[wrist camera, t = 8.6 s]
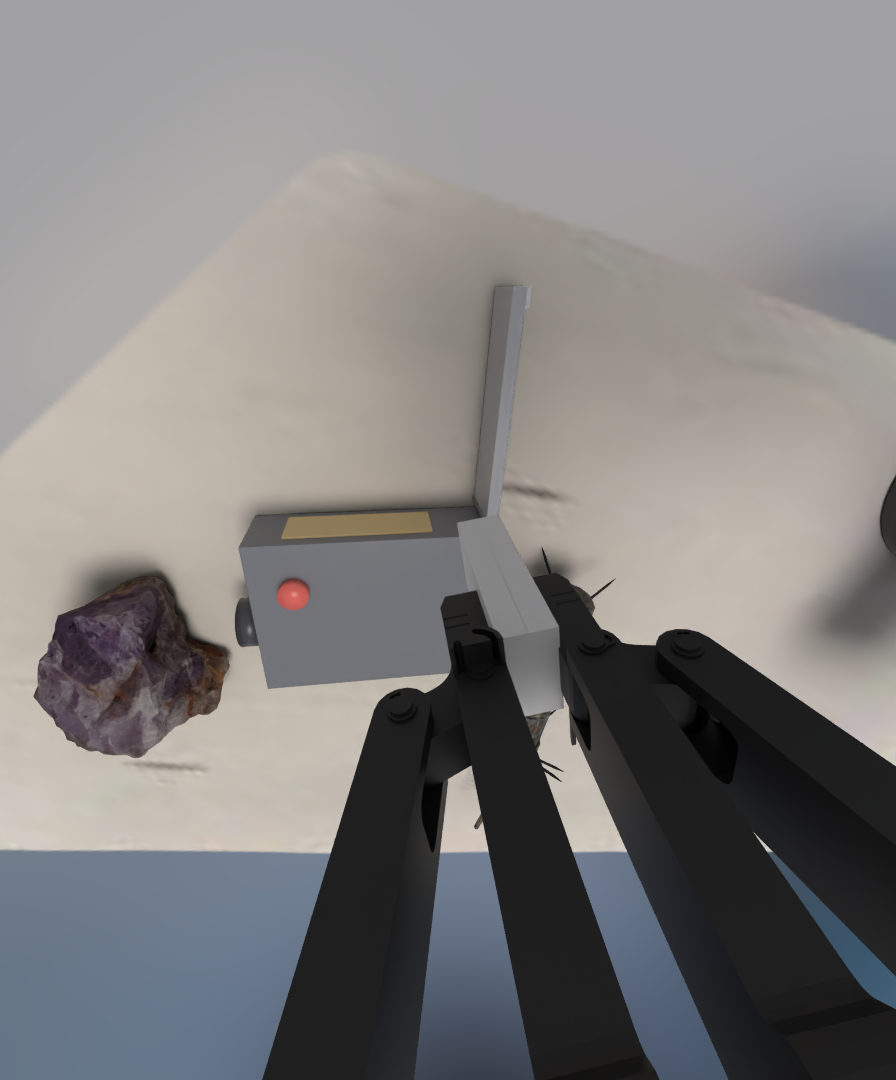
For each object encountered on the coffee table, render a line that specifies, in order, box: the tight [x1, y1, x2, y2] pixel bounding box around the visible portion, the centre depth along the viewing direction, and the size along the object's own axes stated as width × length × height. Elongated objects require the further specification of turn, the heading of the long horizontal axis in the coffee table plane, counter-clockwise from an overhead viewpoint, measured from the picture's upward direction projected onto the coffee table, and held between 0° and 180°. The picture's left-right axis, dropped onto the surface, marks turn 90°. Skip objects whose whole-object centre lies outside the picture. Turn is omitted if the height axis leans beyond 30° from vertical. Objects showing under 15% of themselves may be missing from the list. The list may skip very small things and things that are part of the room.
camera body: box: [235, 507, 481, 689], centre depth 36 cm, size 19×12×6 cm, turn 89°
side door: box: [473, 285, 532, 518], centre depth 31 cm, size 15×2×5 cm, turn 176°
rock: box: [34, 577, 230, 758], centre depth 35 cm, size 12×9×10 cm
